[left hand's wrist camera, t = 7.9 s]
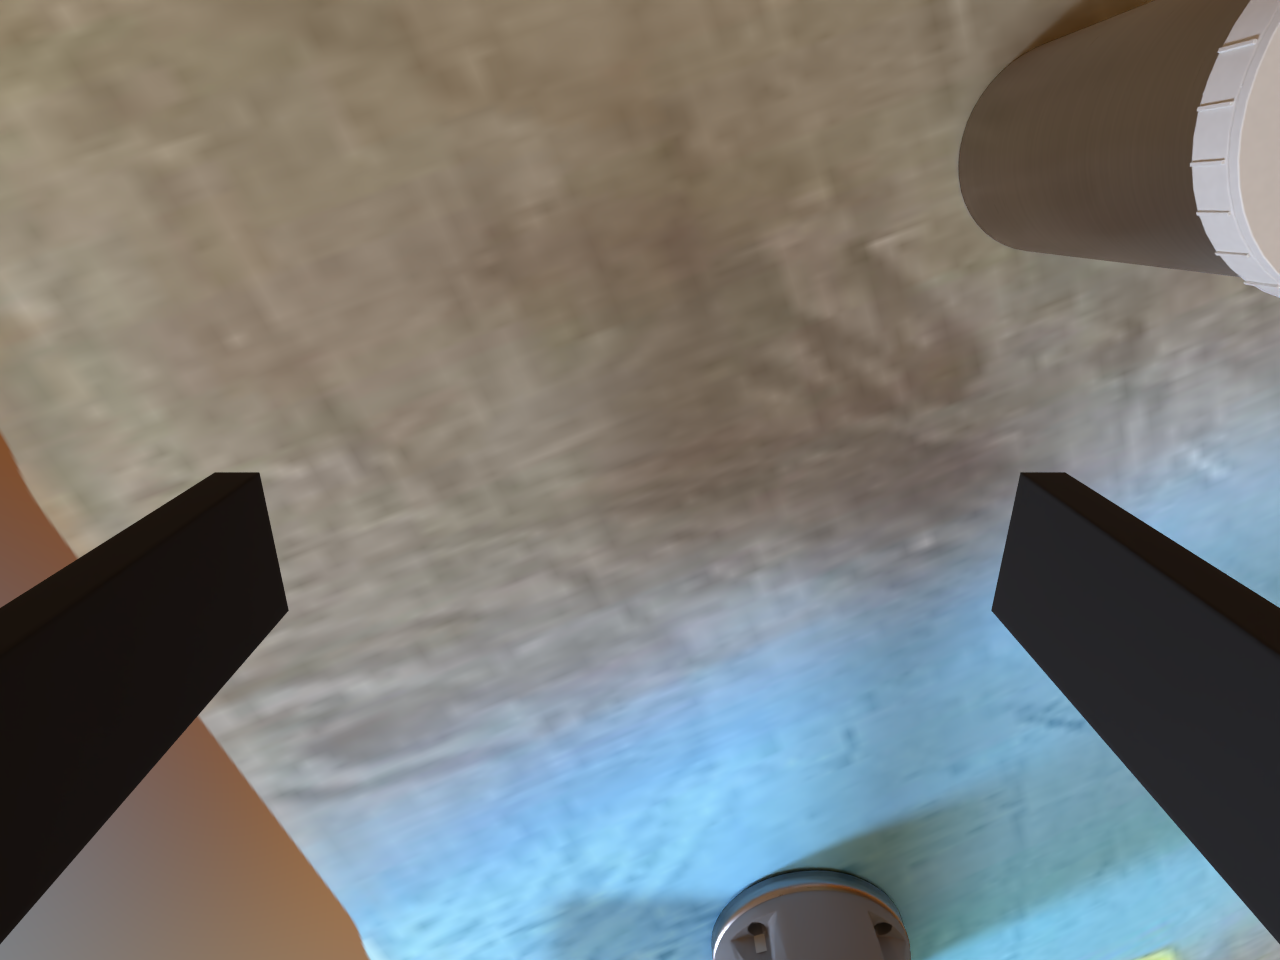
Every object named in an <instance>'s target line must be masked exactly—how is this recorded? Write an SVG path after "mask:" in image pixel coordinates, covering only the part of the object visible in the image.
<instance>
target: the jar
mask: <svg viewBox="0 0 1280 960" xmlns="http://www.w3.org/2000/svg"><path fill="white" fill-rule="evenodd" d="M1249 2H1250V0H1154V1H1152V2H1149V3H1147V4H1144V5H1142V6H1139V7H1137V8H1134V9H1132V10H1129V11H1127V12H1124V13H1122V14H1119V15H1117V16H1114V17H1112V18H1109V19H1106V20H1104V21H1101V22H1099V23H1096V24H1094V25H1091V26H1089V27H1086V28H1084V29H1081V30H1079V31H1076V32H1074V33H1071V34H1069V35H1066V36H1063V37H1061V38H1058V39H1056V40H1053V41H1051V42H1048V43H1046V44H1043V45H1041V46H1038V47H1036V48H1034V49H1032V50H1030V51H1029V52H1027V53H1025V54H1023V55H1022V56H1020V57H1019V58H1017V59H1016V60H1015V61H1013V62H1012V63H1011V64H1009V65H1008V66H1007V67H1006V68H1005V69H1004V70H1003V71H1002V72H1000V73H999V75H998V76H997V77H996V78H995V79H994V80H993V81H992V82H991V83H990V85H989V86H988V87H987V89H986V90H985V91H984V93H983V94H982V96H981V97H980V99H979V100H978V102H977V104H976V106H975V107H974V109H973V111H972V114H971V116H970V118H969V120H968V123H967V125H966V129H965V132H964V135H963V138H962V143H961V149H960V157H959V179H960V185H961V191H962V194H963V197H964V200H965V203H966V205H967V208H968V210H969V212H970V214H971V215H972V217H973V218H974V220H975V221H976V223H977V224H978V225H979V226H980V227H981V228H982V229H983V230H984V232H985V233H987V234H988V235H989V236H991V237H992V238H993V239H995V240H996V241H998V242H1000V243H1002V244H1004V245H1006V246H1009V247H1012V248H1014V249H1019V250H1024V251H1030V252H1039V253H1047V254H1055V255H1063V256H1072V257H1080V258H1088V259H1096V260H1104V261H1113V262H1121V263H1129V264H1137V265H1146V266H1154V267H1162V268H1170V269H1178V270H1187V271H1195V272H1203V273H1211V274H1220V275H1228V276H1236V277H1240V276H1239V275H1238V274H1237V273H1236V272H1234V271H1233V270H1232V269H1231V268H1230V267H1229V266H1228V265H1227V264H1226V262H1225V261H1224V260H1223V259H1222V258H1221V256H1217V255H1215V252H1216V250H1215V248H1214V247H1213V245H1212V243H1211V241H1210V240H1209V238H1208V236H1207V234H1206V232H1205V230H1204V227H1203V224H1202V222H1201V219H1200V217H1199V216H1197V214H1196V212H1198V210H1197V205H1196V200H1195V195H1194V191H1193V179H1192V167H1190V163H1191V162H1192V150H1193V136H1194V131H1195V126H1196V120H1197V115H1198V111H1197V107H1199V106H1200V103H1201V100H1202V97H1203V93H1204V90H1205V87H1206V83H1207V80H1208V78H1209V76H1210V73H1211V71H1212V68H1213V66H1214V64H1215V61H1216V59H1217V57H1218V54H1219V53H1218V50H1219V48H1222V46H1223V44H1224V43H1225V41H1226V39H1227V37H1228V35H1229V33H1230V32H1231V30H1232V28H1233V26H1234V24H1235V22H1236V21H1237V20H1238V18H1239V17H1240V15H1241V14H1242V12H1243V11H1244V9H1245V8H1246V6H1247V5H1248V3H1249Z"/></svg>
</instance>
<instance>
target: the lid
mask: <svg viewBox="0 0 1280 960" xmlns="http://www.w3.org/2000/svg"><path fill="white" fill-rule="evenodd" d="M1218 53H1219V54H1218V57H1217V59H1216V61H1215V64H1214V66H1213V68H1212V71H1211V73H1210V76H1209V78H1208V80H1207V83H1206V87H1205V90H1204V93H1203V97H1202V100H1201V103H1200V106H1199V107H1197V111H1198V115H1197V120H1196V126H1195V131H1194V136H1193V150H1192V162H1191V163H1190V167H1192V179H1193V191H1194V195H1195V200H1196V205H1197V210H1198V212H1196V214H1197V216H1199V217H1200V219H1201V222H1202V224H1203V227H1204V230H1205V232H1206V234H1207V236H1208V238H1209V240H1210V241H1211V243H1212V245H1213V247H1214V248H1215V250H1216V252H1215V255H1217V256H1221V258H1222V259H1223V260H1224V261H1225V262H1226V264H1227V265H1228V266H1229V267H1230V268H1231V269H1232V270H1233V271H1234V272H1236V273H1237V274H1238V275H1239V276H1240V277H1241V278H1243V279H1244V280H1245V282H1244V284H1246V285H1252V286H1255V287H1257V288H1258V289H1260V290H1262V291H1264V292H1266V293H1269V294H1271V295H1274V296H1277V297H1279V298H1280V0H1250V2H1249V3H1248V5H1247V6H1246V8H1245V9H1244V11H1243V12H1242V14H1241V15H1240V17H1239V18H1238V20H1237V21H1236V22H1235V24H1234V26H1233V28H1232V30H1231V32H1230V33H1229V35H1228V37H1227V39H1226V41H1225V43H1224V44H1223V46H1222V48H1219V50H1218Z"/></svg>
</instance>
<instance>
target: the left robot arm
mask: <svg viewBox="0 0 1280 960" xmlns="http://www.w3.org/2000/svg"><path fill="white" fill-rule="evenodd" d="M288 611H289V610H288V606H287V601H286V596H285V591H284V587H283V582H282V577H281V572H280V568H279V563H278V558H277V554H276V549H275V544H274V539H273V535H272V530H271V525H270V520H269V516H268V511H267V506H266V502H265V497H264V492H263V487H262V483H261V478H260V473H213V474H212V475H210V476H209V477H207V478H205V479H204V480H202V481H201V482H199V483H198V484H196V485H194V486H193V487H191V488H190V489H188V490H186V491H185V492H183V493H182V494H180V495H179V496H177V497H175V498H174V499H172V500H171V501H169V502H167V503H166V504H164V505H163V506H161V507H160V508H158V509H156V510H155V511H153V512H152V513H150V514H148V515H147V516H145V517H144V518H142V519H141V520H139V521H137V522H136V523H134V524H133V525H131V526H129V527H128V528H126V529H125V530H123V531H122V532H120V533H118V534H117V535H115V536H114V537H112V538H110V539H109V540H107V541H106V542H104V543H103V544H101V545H99V546H98V547H96V548H95V549H93V550H91V551H90V552H88V553H87V554H85V555H84V556H82V557H80V558H79V559H77V560H76V561H74V562H73V563H71V564H69V565H68V566H66V567H65V568H63V569H61V570H60V571H58V572H57V573H55V574H54V575H52V576H50V577H49V578H47V579H46V580H44V581H43V582H41V583H39V584H38V585H36V586H34V587H33V588H31V589H30V590H28V591H27V592H25V593H23V594H22V595H20V596H19V597H17V598H16V599H14V600H12V601H11V602H9V603H8V604H6V605H5V606H3V607H1V608H0V944H1V943H2V941H3V940H4V939H5V938H6V937H7V936H8V934H9V933H10V932H11V931H12V930H13V929H14V928H15V926H16V925H17V924H18V923H19V922H20V921H21V919H22V918H23V917H24V916H25V915H26V914H27V912H28V911H29V910H30V909H31V908H32V907H33V906H34V904H35V903H36V902H37V901H38V900H39V899H40V897H41V896H42V895H43V894H44V893H45V892H46V891H47V889H48V888H49V887H50V886H51V885H52V884H53V882H54V881H55V880H56V879H57V878H58V877H59V875H60V874H61V873H62V872H63V871H64V870H65V869H66V867H67V866H68V865H69V864H70V863H71V862H72V860H73V859H74V858H75V857H76V856H77V855H78V853H79V852H80V851H81V850H82V849H83V848H84V846H85V845H86V844H87V843H88V842H89V841H90V840H91V838H92V837H93V836H94V835H95V834H96V833H97V832H98V830H99V829H100V828H101V827H102V826H103V825H104V823H105V822H106V821H107V820H108V819H109V818H110V817H111V815H112V814H113V813H114V812H115V811H116V810H117V808H118V807H119V806H120V805H121V804H122V803H123V801H124V800H125V799H126V798H127V797H128V796H129V794H130V793H131V792H132V791H133V790H134V789H135V788H136V786H137V785H138V784H139V783H140V782H141V781H142V779H143V778H144V777H145V776H146V775H147V774H148V773H149V771H150V770H151V769H152V768H153V767H154V766H155V764H156V763H157V762H158V761H159V760H160V759H161V758H162V756H163V755H164V754H165V753H166V752H167V751H168V749H169V748H170V747H171V746H172V745H173V744H174V742H175V741H176V740H177V739H178V738H179V737H180V735H181V734H182V733H183V732H184V731H185V730H186V729H187V727H188V726H189V725H190V724H191V723H192V722H193V720H194V719H195V718H196V717H197V716H198V715H199V714H200V712H201V711H202V710H203V709H204V708H205V707H206V705H207V704H208V703H209V702H210V701H211V700H212V699H213V697H214V696H215V695H216V694H217V693H218V692H219V690H220V689H221V688H222V687H223V686H224V685H225V683H226V682H227V681H228V680H229V679H230V678H231V677H232V675H233V674H234V673H235V672H236V671H237V670H238V668H239V667H240V666H241V665H242V664H243V663H244V661H245V660H246V659H247V658H248V657H249V656H250V655H251V653H252V652H253V651H254V650H255V649H256V648H257V646H258V645H259V644H260V643H261V642H262V641H263V640H264V638H265V637H266V636H267V635H268V634H269V633H270V631H271V630H272V629H273V628H274V627H275V626H276V624H277V623H278V622H279V621H280V620H281V619H282V618H283V616H284V615H285V614H286V613H287V612H288ZM991 611H992V612H993V613H994V614H995V615H996V616H997V618H998V619H999V620H1000V621H1001V622H1002V623H1003V624H1004V626H1005V627H1006V628H1007V629H1008V630H1009V631H1010V633H1011V634H1012V635H1013V636H1014V637H1015V638H1016V640H1017V641H1018V642H1019V643H1020V644H1021V645H1022V646H1023V648H1024V649H1025V650H1026V651H1027V652H1028V653H1029V655H1030V656H1031V657H1032V658H1033V659H1034V660H1035V662H1036V663H1037V664H1038V665H1039V666H1040V667H1041V668H1042V670H1043V671H1044V672H1045V673H1046V674H1047V675H1048V677H1049V678H1050V679H1051V680H1052V681H1053V682H1054V683H1055V685H1056V686H1057V687H1058V688H1059V689H1060V690H1061V692H1062V693H1063V694H1064V695H1065V696H1066V697H1067V699H1068V700H1069V701H1070V702H1071V703H1072V704H1073V705H1074V707H1075V708H1076V709H1077V710H1078V711H1079V712H1080V714H1081V715H1082V716H1083V717H1084V718H1085V719H1086V720H1087V722H1088V723H1089V724H1090V725H1091V726H1092V727H1093V729H1094V730H1095V731H1096V732H1097V733H1098V734H1099V736H1100V737H1101V738H1102V739H1103V740H1104V741H1105V742H1106V744H1107V745H1108V746H1109V747H1110V748H1111V749H1112V751H1113V752H1114V753H1115V754H1116V755H1117V756H1118V758H1119V759H1120V760H1121V761H1122V762H1123V763H1124V764H1125V766H1126V767H1127V768H1128V769H1129V770H1130V771H1131V773H1132V774H1133V775H1134V776H1135V777H1136V778H1137V779H1138V781H1139V782H1140V783H1141V784H1142V785H1143V786H1144V788H1145V789H1146V790H1147V791H1148V792H1149V793H1150V795H1151V796H1152V797H1153V798H1154V799H1155V800H1156V801H1157V803H1158V804H1159V805H1160V806H1161V807H1162V808H1163V810H1164V811H1165V812H1166V813H1167V814H1168V815H1169V817H1170V818H1171V819H1172V820H1173V821H1174V822H1175V823H1176V825H1177V826H1178V827H1179V828H1180V829H1181V830H1182V832H1183V833H1184V834H1185V835H1186V836H1187V837H1188V838H1189V840H1190V841H1191V842H1192V843H1193V844H1194V845H1195V847H1196V848H1197V849H1198V850H1199V851H1200V852H1201V854H1202V855H1203V856H1204V857H1205V858H1206V859H1207V860H1208V862H1209V863H1210V864H1211V865H1212V866H1213V867H1214V869H1215V870H1216V871H1217V872H1218V873H1219V874H1220V875H1221V877H1222V878H1223V879H1224V880H1225V881H1226V882H1227V884H1228V885H1229V886H1230V887H1231V888H1232V889H1233V891H1234V892H1235V893H1236V894H1237V895H1238V896H1239V897H1240V899H1241V900H1242V901H1243V902H1244V903H1245V904H1246V906H1247V907H1248V908H1249V909H1250V910H1251V911H1252V913H1253V914H1254V915H1255V916H1256V917H1257V918H1258V919H1259V921H1260V922H1261V923H1262V924H1263V925H1264V926H1265V928H1266V929H1267V930H1268V931H1269V932H1270V933H1271V934H1272V936H1273V937H1274V938H1275V939H1276V940H1277V941H1278V943H1279V944H1280V608H1279V607H1277V606H1276V605H1274V604H1272V603H1271V602H1269V601H1268V600H1266V599H1264V598H1263V597H1261V596H1260V595H1258V594H1257V593H1255V592H1253V591H1252V590H1250V589H1249V588H1247V587H1246V586H1244V585H1242V584H1241V583H1239V582H1238V581H1236V580H1234V579H1233V578H1231V577H1230V576H1228V575H1227V574H1225V573H1223V572H1222V571H1220V570H1219V569H1217V568H1215V567H1214V566H1212V565H1211V564H1209V563H1208V562H1206V561H1204V560H1203V559H1201V558H1200V557H1198V556H1196V555H1195V554H1193V553H1192V552H1190V551H1189V550H1187V549H1185V548H1184V547H1182V546H1181V545H1179V544H1177V543H1176V542H1174V541H1173V540H1171V539H1170V538H1168V537H1166V536H1165V535H1163V534H1162V533H1160V532H1158V531H1157V530H1155V529H1154V528H1152V527H1151V526H1149V525H1147V524H1146V523H1144V522H1143V521H1141V520H1139V519H1138V518H1136V517H1135V516H1133V515H1132V514H1130V513H1128V512H1127V511H1125V510H1124V509H1122V508H1120V507H1119V506H1117V505H1116V504H1114V503H1113V502H1111V501H1109V500H1108V499H1106V498H1105V497H1103V496H1101V495H1100V494H1098V493H1097V492H1095V491H1094V490H1092V489H1090V488H1089V487H1087V486H1086V485H1084V484H1082V483H1081V482H1079V481H1078V480H1076V479H1075V478H1073V477H1071V476H1070V475H1068V474H1067V473H1020V478H1019V483H1018V487H1017V492H1016V497H1015V502H1014V506H1013V511H1012V516H1011V520H1010V525H1009V530H1008V535H1007V539H1006V544H1005V549H1004V554H1003V558H1002V563H1001V568H1000V572H999V577H998V582H997V587H996V591H995V596H994V601H993V606H992V610H991ZM711 945H712V956H713V960H911V952H910V944H909V939H908V936H907V933H906V930H905V927H904V924H903V922H902V919H901V916H900V914H899V912H898V909H897V908H896V906H895V905H894V903H893V902H892V900H891V899H890V898H889V897H888V896H887V895H886V894H885V893H884V892H883V891H881V890H880V889H879V888H877V887H876V886H874V885H872V884H871V883H869V882H867V881H864V880H862V879H860V878H857V877H854V876H851V875H847V874H844V873H838V872H831V871H816V870H815V871H799V872H792V873H787V874H782V875H779V876H775V877H772V878H769V879H766V880H764V881H761V882H759V883H757V884H755V885H753V886H751V887H749V888H748V889H746V890H745V891H743V892H742V893H740V894H739V895H738V896H736V897H735V898H734V899H733V900H732V901H731V902H730V903H729V904H728V905H727V906H726V907H725V908H724V910H723V911H722V912H721V914H720V915H719V917H718V919H717V921H716V923H715V926H714V929H713V932H712V939H711Z"/></svg>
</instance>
